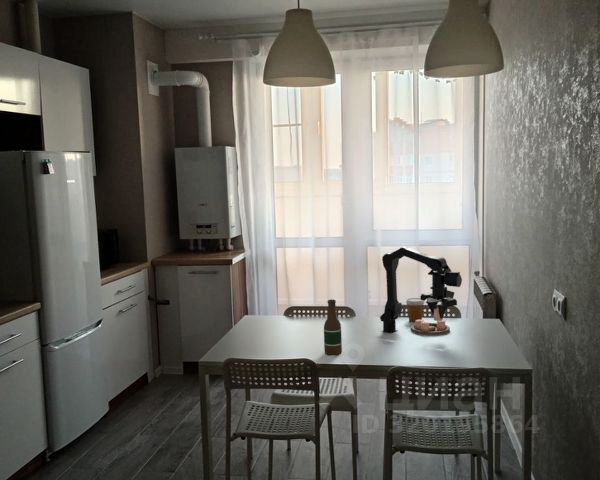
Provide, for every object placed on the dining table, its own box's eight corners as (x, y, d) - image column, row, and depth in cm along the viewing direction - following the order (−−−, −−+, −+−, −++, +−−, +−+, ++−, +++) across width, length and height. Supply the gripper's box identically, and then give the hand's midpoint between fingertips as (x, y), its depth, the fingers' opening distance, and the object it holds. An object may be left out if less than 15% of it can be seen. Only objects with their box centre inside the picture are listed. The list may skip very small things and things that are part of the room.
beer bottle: (331, 349, 272) (329, 297, 270) (345, 352, 267) (344, 299, 265) (320, 354, 266) (319, 300, 264) (335, 357, 261) (333, 302, 259)
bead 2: (444, 332, 293) (444, 322, 293) (436, 331, 294) (436, 321, 294) (445, 330, 297) (445, 320, 296) (437, 329, 298) (437, 319, 298)
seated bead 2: (426, 334, 291) (426, 324, 290) (419, 333, 293) (419, 322, 293) (430, 332, 294) (430, 322, 293) (423, 331, 296) (423, 321, 296)
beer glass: (402, 321, 320) (402, 299, 319) (417, 319, 324) (417, 297, 323) (413, 325, 311) (412, 302, 310) (428, 322, 315) (428, 300, 314)
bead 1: (438, 321, 279) (438, 310, 279) (431, 319, 283) (432, 309, 282) (444, 320, 281) (444, 309, 281) (438, 318, 285) (438, 307, 284)
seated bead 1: (421, 332, 295) (420, 321, 295) (413, 330, 298) (413, 320, 297) (425, 330, 298) (425, 320, 298) (418, 329, 301) (417, 319, 300)
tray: (438, 338, 285) (438, 334, 284) (404, 333, 297) (404, 328, 296) (456, 330, 298) (456, 326, 298) (423, 325, 310) (423, 321, 310)
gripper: (465, 285, 276) (465, 319, 278) (437, 279, 292) (436, 311, 294) (448, 288, 271) (447, 322, 272) (419, 282, 287) (419, 314, 288)
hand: (438, 317), depth 282 cm, fingers closed on bead 1, 4 cm apart
